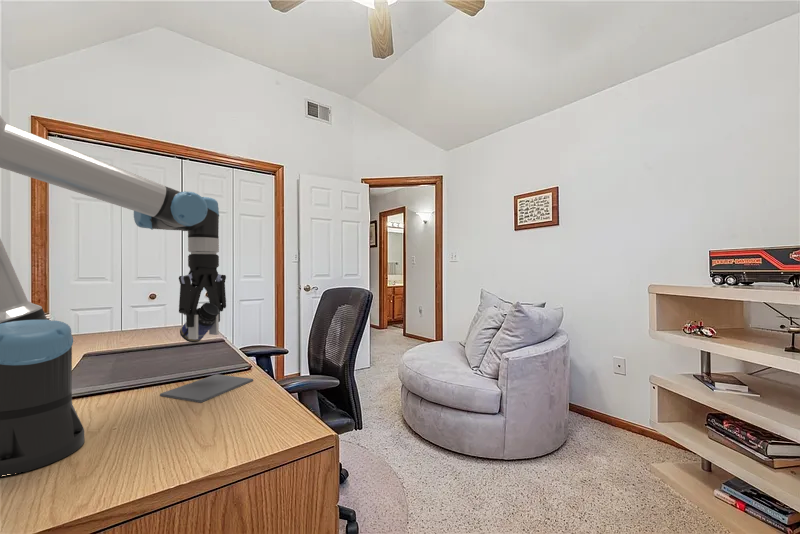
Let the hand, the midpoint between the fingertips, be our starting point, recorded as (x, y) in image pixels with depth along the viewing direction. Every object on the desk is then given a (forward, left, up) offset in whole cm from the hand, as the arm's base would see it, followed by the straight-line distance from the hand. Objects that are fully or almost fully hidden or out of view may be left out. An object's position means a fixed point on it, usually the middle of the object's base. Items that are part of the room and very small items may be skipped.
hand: (203, 336), depth 100 cm
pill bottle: (0, +5, 0) cm, 5 cm away
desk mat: (0, -2, -14) cm, 14 cm away
